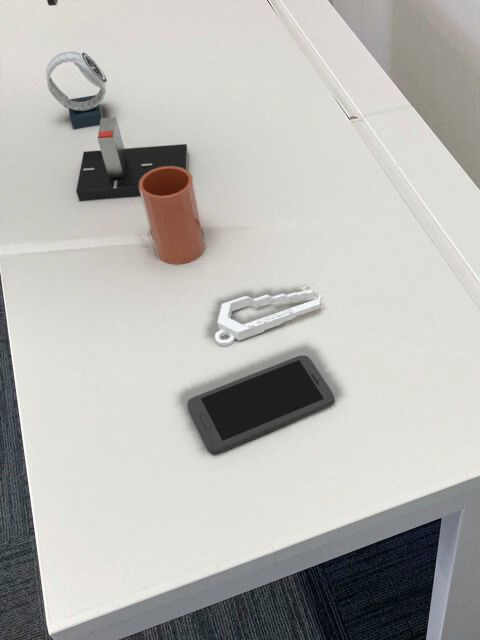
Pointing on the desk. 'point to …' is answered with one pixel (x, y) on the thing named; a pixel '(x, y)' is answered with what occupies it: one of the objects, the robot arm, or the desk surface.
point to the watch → (83, 108)
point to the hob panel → (137, 164)
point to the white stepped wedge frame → (258, 326)
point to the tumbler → (172, 214)
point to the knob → (112, 147)
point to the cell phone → (259, 403)
